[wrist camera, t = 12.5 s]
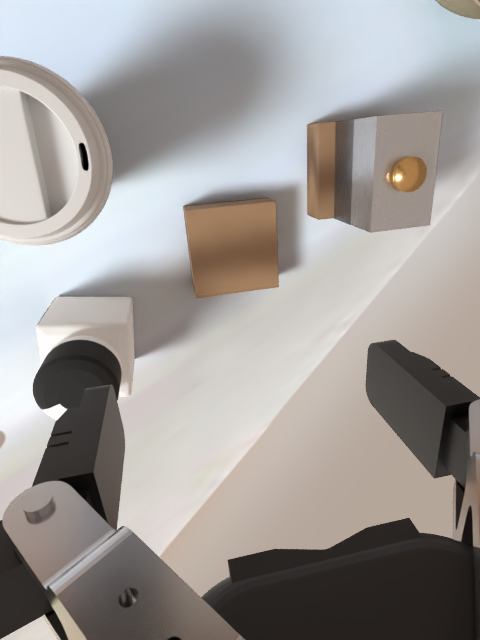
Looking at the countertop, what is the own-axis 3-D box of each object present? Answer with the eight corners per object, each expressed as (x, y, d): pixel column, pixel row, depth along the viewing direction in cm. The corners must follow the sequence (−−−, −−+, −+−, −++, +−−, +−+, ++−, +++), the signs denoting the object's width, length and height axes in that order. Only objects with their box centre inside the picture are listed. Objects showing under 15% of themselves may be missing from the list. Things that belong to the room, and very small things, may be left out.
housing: (335, 122, 34) (382, 115, 27) (390, 117, 35) (450, 109, 28) (333, 218, 37) (375, 234, 30) (384, 212, 38) (436, 226, 31)
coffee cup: (112, 228, 37) (86, 274, 23) (-4, 192, 34) (-111, 220, 20) (140, 119, 34) (129, 98, 20) (16, 69, 31) (-94, 6, 17)
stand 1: (183, 206, 37) (185, 210, 34) (267, 197, 38) (275, 201, 36) (193, 288, 40) (196, 298, 38) (270, 278, 41) (278, 287, 39)
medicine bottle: (54, 295, 38) (14, 353, 27) (132, 295, 39) (124, 351, 29) (62, 362, 41) (28, 439, 30) (135, 359, 42) (127, 433, 31)
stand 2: (307, 124, 36) (319, 122, 34) (388, 118, 38) (407, 116, 35) (307, 214, 40) (318, 219, 37) (382, 206, 41) (398, 210, 38)
